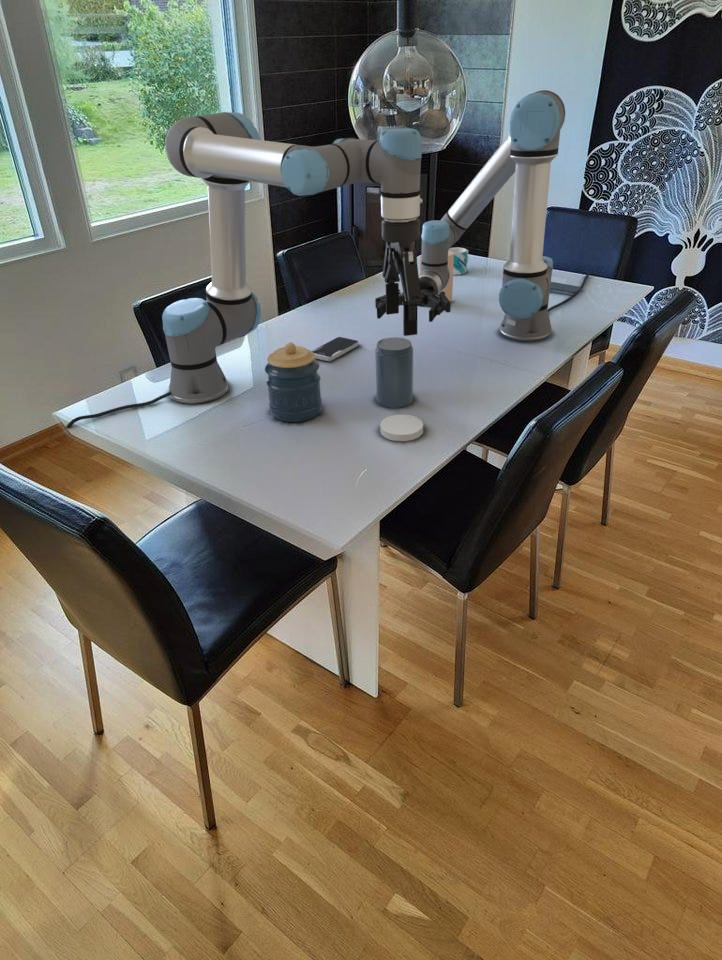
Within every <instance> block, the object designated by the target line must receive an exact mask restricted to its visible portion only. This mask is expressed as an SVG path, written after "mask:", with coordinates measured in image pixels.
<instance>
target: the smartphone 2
mask: <svg viewBox="0 0 722 960" xmlns="http://www.w3.org/2000/svg"><path fill="white" fill-rule="evenodd" d="M579 291H580V292H581V291H582V289H581V286H579V285H572V284H566V283H561V282H555V281H551V284H550V292H551V293H557V294H562V295H568V296H572V295H573V294H575V293H577V292H579ZM580 292H579V293H580Z"/></svg>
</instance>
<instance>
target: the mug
mask: <svg viewBox="0 0 722 960" xmlns="http://www.w3.org/2000/svg"><path fill="white" fill-rule="evenodd" d="M448 253H454V264H453V276H457V275H464V274H466V273H467V264H468V263H469V249H467V248H465V247H458V246H457V247H451V248H450V249H449V250H448Z"/></svg>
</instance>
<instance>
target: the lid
mask: <svg viewBox="0 0 722 960" xmlns="http://www.w3.org/2000/svg"><path fill="white" fill-rule="evenodd" d="M379 427H380V428H379V429H380V434H381V435H382V437H383V438H385V439H386V440H390V441H393V442H410V441H414V440H416V439H418V438H420V437H421V436H422V435H423V433H424V422H423V420H422V419H420V418H419V417H417V416H415V415H411V414H394V415H390V416H387V417H386V418H384V419H383V420H381V422H380V424H379Z"/></svg>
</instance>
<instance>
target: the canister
mask: <svg viewBox="0 0 722 960" xmlns="http://www.w3.org/2000/svg"><path fill="white" fill-rule="evenodd" d="M312 351H313V350H309V349H308V348H306V347H304V346H299V345H296V344H294V343H293V342H287V343H286V344H285V346H283V347H279V348H277V349H275V350H274V351H273V352H272V353H270V354H269V355H268V356H267V359H266V360H267V364H265V367H264V372H265V373H266V375H267V378H266V382H265V383H266V385H267V393H268V400H269V402H268V406H269V410H270V413H271V415H272V417H273V418H275V419H276V420H279V421H282V422H288V423H289V422H290V423H296V422H297V423H298V422H304V421H308V420H311V419H313V418H315V417H317V416H318V415H319V414H320V413H321V411H322V408H323V399H322V392H321V376H320V374H319V372H318V370H319V369H320V363H319V361H318V359H316V358H315V354H314V353H313V352H312Z"/></svg>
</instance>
